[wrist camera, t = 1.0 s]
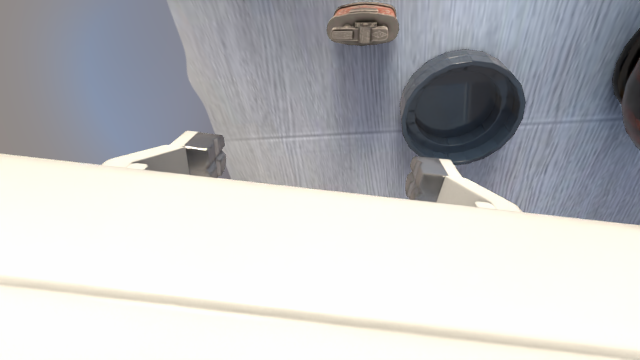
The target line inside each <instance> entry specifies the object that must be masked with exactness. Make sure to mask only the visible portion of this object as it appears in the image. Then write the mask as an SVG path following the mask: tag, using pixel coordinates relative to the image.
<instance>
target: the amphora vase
mask: <svg viewBox="0 0 640 360" xmlns="http://www.w3.org/2000/svg"><path fill="white" fill-rule="evenodd" d="M612 83H613V90H614V95H615V96H616V98H617V99H618V101H619V103H620V104H621V108H622V116H623V123H624V126H625V130H626V132H627V134H628V135H629V137H630V138H631V140H632V141H633V143H634V144H635V146H636V147H637V148H638V149H639V150H640V28H639V29H638V31H637V32H636V33H635V34H634V36H633V37H632V38H631V39H630V41H629V42H628V43H627V44H626V46H625V47H624V49H623V51H622V53H621V55H620V57H619V59H618V61H617V63H616V65H615V70H614V74H613V78H612Z"/></svg>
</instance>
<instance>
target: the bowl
mask: <svg viewBox="0 0 640 360" xmlns="http://www.w3.org/2000/svg"><path fill="white" fill-rule="evenodd" d="M525 103H526V102H525V97H524V93H523V89H522V85H521V84H520V82H519V81H518V80H517V79H516V78H515V76H514V75H513V74H512V73H511V71H510V70H509V69H508V68H507V67H506V66H505V65H504V64H503V63H502V62H501V61H500V60H499V59H497V58H495V57H493V56H491V55H489V54H487V53H486V52H483V51H477V50H469V49H462V50H457V51H451V52H446V53H444V54H442V55H440V56H438V57H436V58H434V59H432V60H430V61H428V62H426V63H425V64H424V65H423V66H422V67H421V68H419V69H418V70H417V71H416V72H415V73H414V74H413V75H412V77H411V78H410V80H409V81H408V83H407V85H406V86H405V88H404V90H403V93H402V97H401V101H400V115H401V124H402V133H403V136H404V138H405V140H406V142H407V144H408V146H409V147H410V148H411V149H412V150H413V151H414V152H415V153H416V154H417V155H418V156H419V157H430V158H438V159H449V160H451V161H452V163H453V164H454V165H461V164H468V163H471V162H474V161H477V160H480V159H483V158H485V157H487V156H489V155H490V154H492V153H494V152H495V151H497V150H499V149H500V148H501V147H502V146H503V145H504V144H505V143H506V142H507V141H508V140H509V139H510V138H511V137H512V136H513V135H514V134H515V132H516V130H517V128H518V126H519V125H520V123H521V121H522V119H523V114H524V108H525Z"/></svg>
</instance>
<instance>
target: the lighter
mask: <svg viewBox="0 0 640 360" xmlns="http://www.w3.org/2000/svg"><path fill="white" fill-rule="evenodd" d="M398 31H399V24H398V21H397V19H396V11H395V8H394V7H393V6H391V5H388V4H383V3H378V2H359V3H351V4H347V5H343V6H340V7H338V8H337V9H336V11H335V13H334V17H333V18H332V19H331V20H330V21H329V23H328V25H327V34H328V37H329V38H330V39H331V40H332V41H334V42H337V43H342V44H347V45H359V46H364V45H376V44H381V43H386V42H390V41H392V40H394V39H395V38H396V36H397V34H398Z"/></svg>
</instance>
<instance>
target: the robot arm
mask: <svg viewBox="0 0 640 360" xmlns="http://www.w3.org/2000/svg"><path fill="white" fill-rule="evenodd" d="M224 146H225V143H224V137H223V136H222V135H216V134H208V133H200V132H193V131H186V132H184V133H183V134H182V135H181V136H180V137H178V138H177V139H176V140H175V141H174V142H172V144H170V145H163V146H159V147H155V148H152V149H147V150H143V151H139V152H136V153H132V154H128V155H124V156H120V157H116V158H112V159H109V160H107V161H106V162H105V163H103V164H102V165H96V164H88V163H79V162H70V161H61V160H52V159H42V158H34V157H25V156H15V155H7V154H1V153H0V360H640V225H634V224H625V223H615V222H605V221H596V220H587V219H578V218H570V217H561V216H552V215H543V214H534V213H525V212H522V211H521V210H520V209H519V207H518V206H517V205H515V204H514V203H512V202H510V201H508V200H506V199H504V198H502V197H500V196H499V195H497V194H495V193H493V192H491V191H489V190H487V189H486V188H484V187H482V186H480V185H478V184H476V183H474V182H472V181H471V180H469V179H467V178H462V176H461V175H460V173H459V172H458V170H457V169H456V167H455V166H454V164H453V163H452V161H451V160H449V159H438V158H430V157H418V156H415V157H413V159H412V161H411V164H410V167H411V170H412V172H411V173H409V174H408V175H407V179H406V185H405V191H406V195H407V196H408V197H409V199H400V198H391V197H382V196H373V195H364V194H355V193H346V192H337V191H329V190H320V189H311V188H302V187H293V186H284V185H275V184H266V183H257V182H248V181H239V180H230V179H221V178H218V176H221V175H222V174H223V172H224V170H225V166H226V155H225V153H224V152H223V151H222V149H223V147H224Z"/></svg>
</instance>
